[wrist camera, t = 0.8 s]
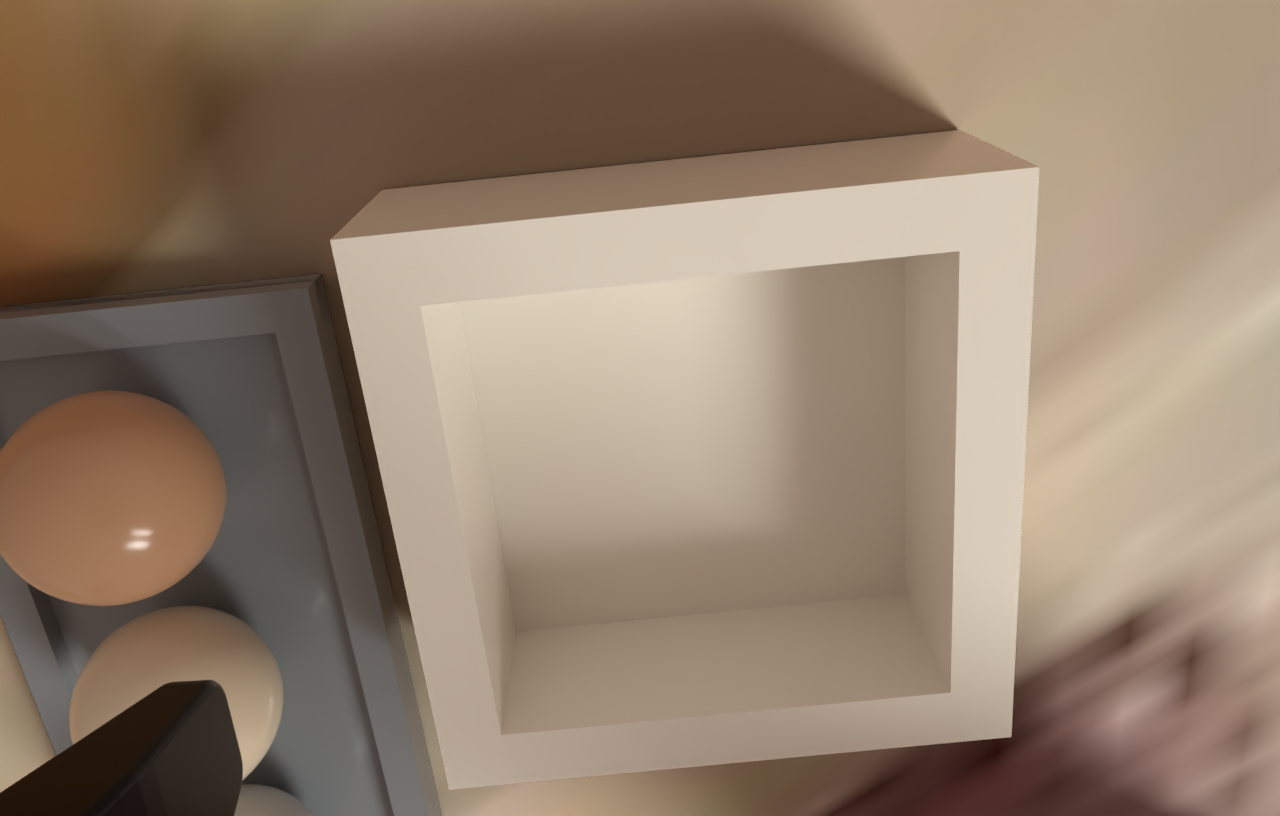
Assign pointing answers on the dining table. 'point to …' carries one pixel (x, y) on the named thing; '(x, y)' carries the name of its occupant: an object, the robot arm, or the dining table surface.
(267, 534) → the slate tray
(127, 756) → the robot arm
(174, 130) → the dining table surface
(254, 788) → the glossy white ball
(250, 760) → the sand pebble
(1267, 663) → the dining table surface
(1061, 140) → the dining table surface
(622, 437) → the stoneware dish
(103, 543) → the orange tan ball
